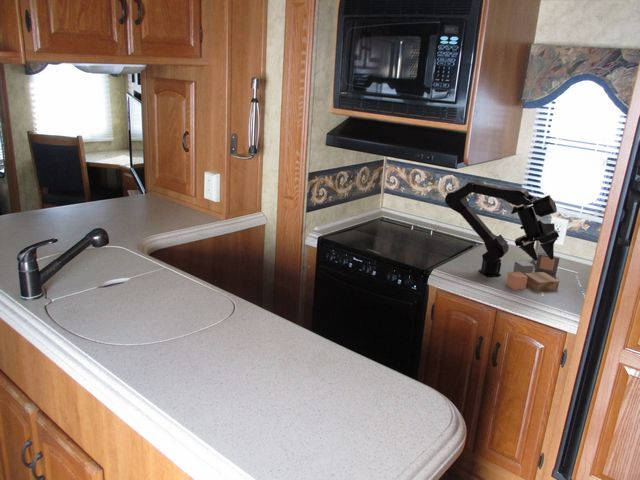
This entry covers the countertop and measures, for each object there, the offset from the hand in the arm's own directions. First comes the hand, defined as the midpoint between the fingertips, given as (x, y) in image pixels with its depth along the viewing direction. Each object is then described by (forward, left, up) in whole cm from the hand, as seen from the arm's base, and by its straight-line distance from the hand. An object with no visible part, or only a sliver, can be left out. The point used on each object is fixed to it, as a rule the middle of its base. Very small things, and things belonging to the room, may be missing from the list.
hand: (544, 259), depth 206 cm
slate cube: (+1, +12, -11) cm, 16 cm away
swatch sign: (+11, +11, -11) cm, 19 cm away
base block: (+1, +1, -11) cm, 11 cm away
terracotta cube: (-9, +2, -11) cm, 14 cm away
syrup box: (+18, +23, -11) cm, 31 cm away
